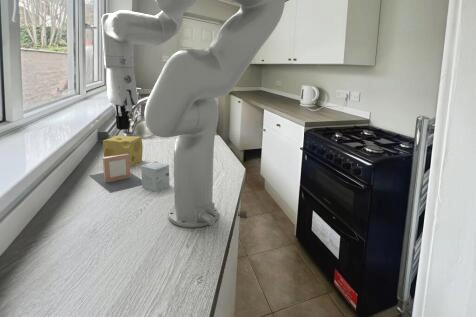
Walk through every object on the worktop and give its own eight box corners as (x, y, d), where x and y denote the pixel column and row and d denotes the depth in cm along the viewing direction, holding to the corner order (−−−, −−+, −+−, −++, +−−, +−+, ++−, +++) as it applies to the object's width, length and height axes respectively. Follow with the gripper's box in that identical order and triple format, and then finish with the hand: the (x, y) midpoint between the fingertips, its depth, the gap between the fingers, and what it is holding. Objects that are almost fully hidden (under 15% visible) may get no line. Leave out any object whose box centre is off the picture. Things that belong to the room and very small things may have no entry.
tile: (130, 177, 101) (129, 154, 99) (106, 182, 96) (104, 158, 93) (128, 176, 102) (127, 153, 100) (104, 181, 97) (102, 157, 94)
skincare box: (155, 192, 92) (154, 169, 89) (141, 187, 94) (140, 165, 92) (169, 186, 96) (169, 164, 94) (156, 182, 99) (155, 160, 97)
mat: (148, 184, 97) (148, 183, 97) (110, 194, 89) (110, 192, 89) (124, 169, 109) (124, 168, 109) (88, 176, 101) (88, 175, 101)
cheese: (129, 169, 110) (127, 142, 107) (102, 166, 112) (100, 139, 109) (143, 161, 120) (142, 136, 117) (118, 158, 122) (117, 134, 119)
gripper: (144, 65, 81) (147, 132, 86) (121, 63, 91) (124, 123, 97) (117, 63, 76) (121, 135, 81) (95, 61, 86) (100, 125, 92)
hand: (123, 128), depth 89 cm, fingers closed
